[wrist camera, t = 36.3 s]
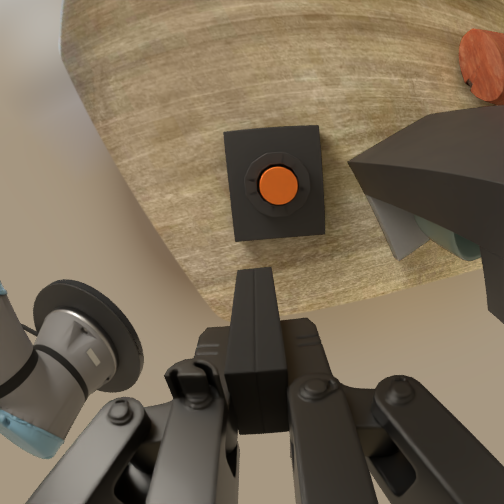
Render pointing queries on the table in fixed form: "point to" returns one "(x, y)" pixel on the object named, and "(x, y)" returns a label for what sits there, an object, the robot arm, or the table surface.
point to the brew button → (278, 185)
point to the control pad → (261, 159)
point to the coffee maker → (442, 186)
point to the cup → (449, 240)
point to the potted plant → (483, 64)
